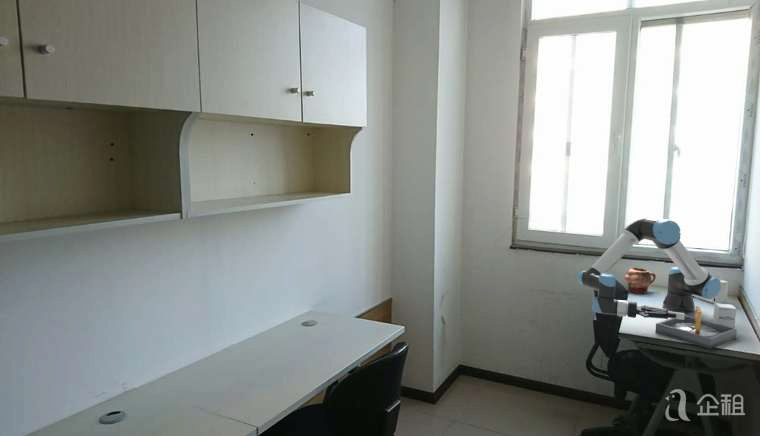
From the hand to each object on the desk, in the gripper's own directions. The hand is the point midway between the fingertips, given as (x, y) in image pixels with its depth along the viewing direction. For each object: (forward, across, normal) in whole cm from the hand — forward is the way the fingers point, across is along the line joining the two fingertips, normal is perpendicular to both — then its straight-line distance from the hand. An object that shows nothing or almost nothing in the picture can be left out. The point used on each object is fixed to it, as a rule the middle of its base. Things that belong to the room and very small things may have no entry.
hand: (684, 316), depth 235 cm
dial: (+5, -5, -8) cm, 11 cm away
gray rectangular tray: (+5, -6, -10) cm, 13 cm away
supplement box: (+18, -19, -10) cm, 28 cm away
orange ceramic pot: (-19, -78, -10) cm, 81 cm away
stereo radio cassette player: (+16, -78, -10) cm, 81 cm away
